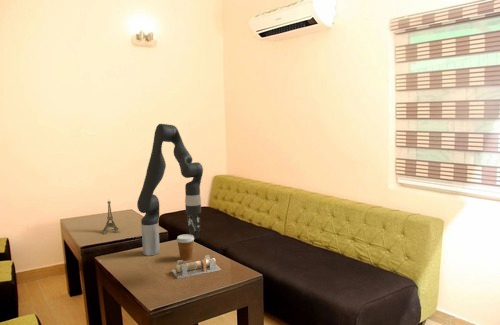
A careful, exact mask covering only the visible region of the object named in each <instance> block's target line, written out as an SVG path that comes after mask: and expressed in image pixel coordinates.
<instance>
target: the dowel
mask: <svg viewBox="0 0 500 325" xmlns="http://www.w3.org/2000/svg"><path fill="white" fill-rule="evenodd" d="M211 259H214V264H215V265H217V260H216V258H215V257H213V258H211ZM208 260H209V259H206V267H208V266H209V263H208ZM184 264H186V265H187V271H188V270H193V269H198V268H203V259H202V260H197V261H192V262H187V263H184ZM181 265H182V264H180V265H178V264H175V266H174V268H175V270H176V273H177V272H181Z"/></svg>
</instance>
